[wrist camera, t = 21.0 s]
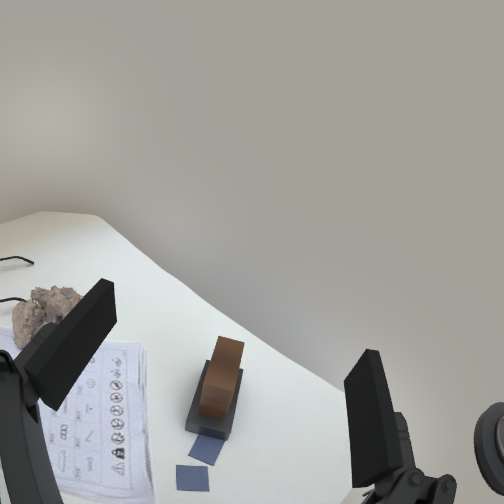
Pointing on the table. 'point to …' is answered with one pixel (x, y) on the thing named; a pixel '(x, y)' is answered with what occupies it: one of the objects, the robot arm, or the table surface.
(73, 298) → the rock
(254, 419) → the table surface
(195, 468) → the pair of blue tiles
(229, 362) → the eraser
